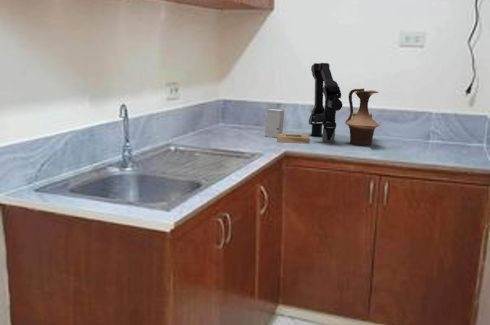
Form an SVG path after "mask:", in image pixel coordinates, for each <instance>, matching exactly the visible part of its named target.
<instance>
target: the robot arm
mask: <svg viewBox="0 0 490 325" xmlns="http://www.w3.org/2000/svg"><path fill="white" fill-rule="evenodd" d="M310 67H311V68H310V71H311V75H312V77H313V79H314V106H313V108H312V110H311V114H310V115H309V119H308V125H310V126H311V132H310V137H311V136H312V137H323V128H324V129H325V130H326V132H327V140H330V139H331V137H332V135H333V132H334V130H335V131H336V128H337V122H336V114H337V112H338V111H340V110H341V109H342V108H343V102H342V100H340V99H342V92H341V88H340V86H339V84H338V83H337V81H335V80H334V78H333V74H332V72H331V69H330V63H328V62H314V63H313V64H312V65H311V66H310Z"/></svg>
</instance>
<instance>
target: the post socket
mask: <svg viewBox="0 0 490 325" xmlns="http://www.w3.org/2000/svg"><path fill="white" fill-rule="evenodd" d="M276 138H277V139H276V142H277V143H291V144H292V143H294V144H309V143H310V134H304V133H303V134H302V133H283V132H282V133H279V135H278V137H276Z"/></svg>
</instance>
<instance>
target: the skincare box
mask: <svg viewBox="0 0 490 325" xmlns="http://www.w3.org/2000/svg"><path fill="white" fill-rule="evenodd" d="M284 117H285V110H283V109H276V108H267V110H266V118H265V119H266V120H265V130H264V135H265V137H271V138H277V137H278V135H279V133H282V134H283V132H284V130H283V129H284V120H285V118H284Z"/></svg>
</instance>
